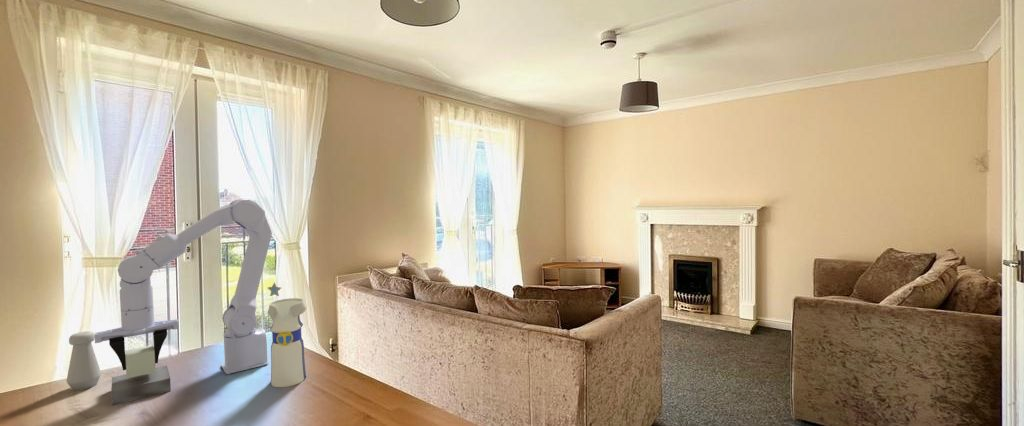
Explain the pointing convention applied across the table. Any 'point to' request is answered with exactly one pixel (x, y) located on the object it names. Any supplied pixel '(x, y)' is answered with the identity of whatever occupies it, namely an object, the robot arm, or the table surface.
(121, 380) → the gray plinth
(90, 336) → the salt shaker
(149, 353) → the sage block
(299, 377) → the cream belted dress
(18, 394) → the table surface
